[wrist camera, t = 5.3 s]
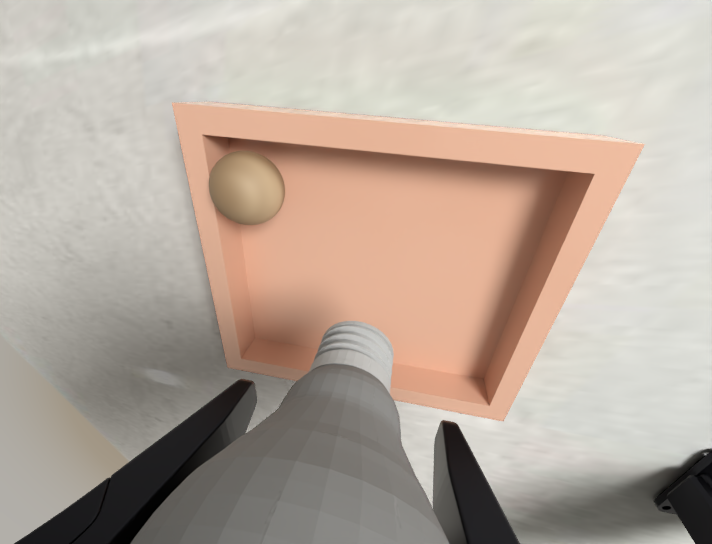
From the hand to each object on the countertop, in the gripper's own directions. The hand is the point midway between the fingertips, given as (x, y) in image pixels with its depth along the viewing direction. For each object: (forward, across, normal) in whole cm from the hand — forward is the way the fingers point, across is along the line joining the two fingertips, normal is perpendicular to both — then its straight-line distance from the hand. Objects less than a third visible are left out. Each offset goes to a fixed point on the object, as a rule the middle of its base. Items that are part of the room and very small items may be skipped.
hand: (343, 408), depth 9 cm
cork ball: (+8, +6, -4) cm, 10 cm away
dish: (+8, 0, 0) cm, 8 cm away
